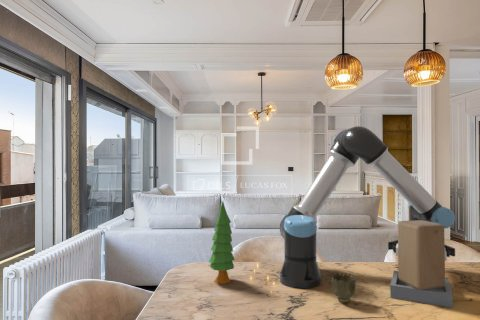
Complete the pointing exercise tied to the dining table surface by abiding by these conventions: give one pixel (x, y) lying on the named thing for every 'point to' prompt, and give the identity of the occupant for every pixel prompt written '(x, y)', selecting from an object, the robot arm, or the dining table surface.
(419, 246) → the wooden block
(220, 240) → the decorative tree
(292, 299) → the dining table surface
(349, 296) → the cup
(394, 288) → the gray square tray
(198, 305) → the dining table surface
